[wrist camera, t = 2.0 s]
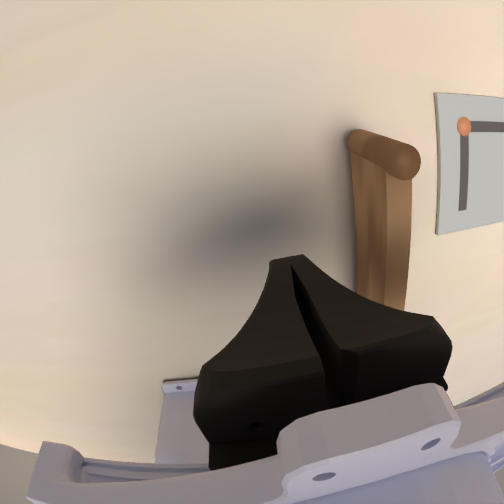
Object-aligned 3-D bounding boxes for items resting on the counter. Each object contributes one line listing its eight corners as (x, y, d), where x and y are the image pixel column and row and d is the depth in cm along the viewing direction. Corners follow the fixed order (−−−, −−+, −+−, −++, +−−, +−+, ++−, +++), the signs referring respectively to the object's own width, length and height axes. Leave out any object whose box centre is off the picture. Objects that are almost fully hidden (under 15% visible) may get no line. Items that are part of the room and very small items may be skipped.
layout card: (435, 233, 18) (438, 236, 18) (434, 93, 14) (437, 93, 14) (518, 215, 18) (521, 217, 18) (523, 101, 14) (526, 101, 13)
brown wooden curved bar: (374, 331, 21) (400, 383, 16) (352, 336, 21) (375, 391, 16) (372, 128, 14) (424, 143, 10) (343, 131, 14) (388, 146, 10)
